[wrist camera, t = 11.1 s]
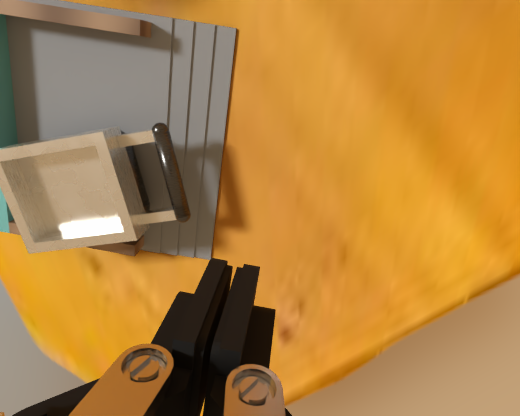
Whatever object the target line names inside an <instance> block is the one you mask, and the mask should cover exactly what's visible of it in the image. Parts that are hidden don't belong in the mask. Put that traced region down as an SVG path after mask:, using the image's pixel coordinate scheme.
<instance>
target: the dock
mask: <svg viewBox="0 0 520 416" xmlns="http://www.w3.org/2000/svg"><path fill="white" fill-rule="evenodd" d="M235 38H236V28H231V27H224V26H218V25H212V24H206V23H199V22H194V21H187V20H181V19H175V18H169V17H163V16H156V15H150V14H143V13H137V12H131V11H124V10H118V9H111V8H105V7H99V6H92V5H86V4H79V3H73V2H66V1H60V0H0V148H2V147H6V146H9V145H14V144H20V143H26V142H32V141H37V140H43V139H49V138H54V137H60V136H66V135H71V134H77V133H83V132H88V131H94V130H100V129H105V128H111V127H117V126H119V127H120V130H121V131H123V132H125V133H126V134H127V133H132V132H138V131H144V130H150V129H152V127H153V125H154V124H156V123H159V122H161V123H164V124H166V125H167V126H168V128H169V131H170V135H171V139H172V143H173V147H174V151H175V155H176V158H177V162H178V166H179V170H180V174H181V178H182V182H183V186H184V189H185V193H186V197H187V201H188V205H189V209H190V213H191V217H190V219H189V220H188V221H187V222H185V223H181V222H179V221H177V220H172V221H165V222H157V223H149V226H150V227H149V228H148V229H147V231H146V232H145V233H144V234H143V235H142V236H141V237H140V238H139V239H138V240H136V241H128V242H120V243H112V244H104V245H95V246H87V247H88V248H93V249H99V250H104V251H110V252H115V253H120V254H126V255H131V256H135V255H136V254H137V253H138V252H139V250H145V251H150V252H156V253H166V254H171V255H182V256H187V257H193V258H194V257H197V258H203V259H208V260H210V259H211V253H212V244H213V235H214V226H215V217H216V208H217V199H218V190H219V181H220V172H221V163H222V154H223V145H224V136H225V127H226V118H227V109H228V100H229V92H230V83H231V74H232V65H233V56H234V47H235ZM133 148H134V151H135V154H136V158H137V161H138V165H139V168H140V171H141V175H142V178H143V181H144V185H145V188H146V192H147V195H148V198H149V202H150V210H154V209H162V208H169V207H172V204H171V201H170V197H169V193H168V190H167V186H166V182H165V179H164V175H163V172H162V168H161V164H160V161H159V157H158V153H157V150H156V146H155V142H150V143H144V144H138V145H133ZM0 231H2V232H7V233H13V234H18V235H21V234H20V232H19V230H18V227H17V225H16V223H15V220H14V218H13V216H12V213H11V211H10V209H9V207H8V204H7V202H6V200H5V197H4V195H3V193H2V190H1V188H0Z"/></svg>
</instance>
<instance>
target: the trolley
mask: <svg viewBox="0 0 520 416" xmlns="http://www.w3.org/2000/svg"><path fill="white" fill-rule="evenodd" d="M150 142H155V146H156V150H157V153H158V157H159V161H160V164H161V168H162V172H163V175H164V179H165V182H166V186H167V190H168V193H169V197H170V201H171V204H172V207H169V208H162V209H154V210H150V202H149V198H148V195H147V192H146V188H145V185H144V181H143V178H142V175H141V171H140V168H139V165H138V161H137V158H136V154H135V151H134V148H133V145H138V144H144V143H150ZM0 188H1V190H2V193H3V195H4V197H5V200H6V202H7V204H8V207H9V209H10V211H11V213H12V216H13V218H14V220H15V223H16V225H17V227H18V230H19V232H20V234H21V236H22V239H23V241H24V243H25V246H26V248H27V250H28V253H29V254H30V253H38V252H46V251H54V250H63V249H71V248H79V247H87V246H95V245H104V244H112V243H120V242H128V241H136V240H138V239H139V238H140V237H141V236H142V235H143V234H144V233H145V232H146V231H147V229H148V228H149V227H150V226H149V223H157V222H165V221H172V220H177V221H179V222H181V223H185V222H187V221H188V220H189V219H190V217H191V213H190V209H189V205H188V201H187V197H186V193H185V189H184V186H183V182H182V178H181V174H180V170H179V166H178V162H177V158H176V155H175V151H174V147H173V143H172V139H171V135H170V131H169V128H168V126H167V125H166V124H164V123H161V122H159V123H156V124H154V125H153V127H152V129H150V130H144V131H138V132H132V133H127V134H126V133H125V132H123V131H121V130H120V127H119V126H117V127H111V128H105V129H100V130H94V131H88V132H83V133H77V134H71V135H66V136H60V137H54V138H49V139H43V140H37V141H32V142H26V143H20V144H14V145H9V146H6V147H2V148H0Z"/></svg>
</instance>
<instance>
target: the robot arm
mask: <svg viewBox="0 0 520 416" xmlns="http://www.w3.org/2000/svg"><path fill="white" fill-rule="evenodd" d="M259 270H260V267H258V266H252V265H247V264H244V266H243V268H240V267H237V269H236V272H235V275H234V278H233V282H232V285H231V288H230V283H231V276H232V266H229V265H227V261H225V260H220V259H215V258H211V259H210V261H209V263H208V266H207V268H206V270H205V272H204V274H203V276H202V278H201V280H200V283H199V285H198V287H197V289H196V291H195V293H194V294H191V293H186V292H181V291H180V292H179V293H178V294H177V296H176V298H175V300H174V302H173V303H172V305H171V307H170V309H169V311H168V313H167V314H166V316H165V318H164V320H163V322H162V324H161V326H160V327H159V329H158V331H157V333H156V335H155V337H154V339H153V340H152V342H151V344H140V345H137V346H133V347H131V348H129V349H127V350H126V351H124V352H123V353H122V354H121V355H120V356H119V357H118V358H117V359H116V361H115V362H114V363H113V364H112V365H111V366H110V368H109V369H108V370H107V371H106V372H105V373H104V375H103V376H102V377H101V378H99V379H97V380H94V381H92V382H90V383H87V384H85V385H82V386H80V387H78V388H75V389H72V390H70V391H68V392H65V393H62V394H60V395H57V396H55V397H52V398H50V399H47V400H45V401H42V402H40V403H38V404H35V405H33V406H30V407H28V408H25V409H24V410H21V411H19V412H18V413H16V414H14V415H13V416H200V413H201V409H202V406H203V403H204V399H205V403H204V411H203V416H292V415H291V414H290V413H289V412H288V410H287V409H286V408H285V406H284V397H283V388H282V385H281V382H280V380H279V378H278V377H277V376H276V374H275V373H273V372H272V371H271V370H270V369H269V363H270V355H271V346H272V337H273V328H274V320H275V309H270V308H265V307H259V306H254V299H255V293H256V288H257V282H258V276H259ZM229 290H230V291H229ZM0 416H4V413H3V412H0Z"/></svg>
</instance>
